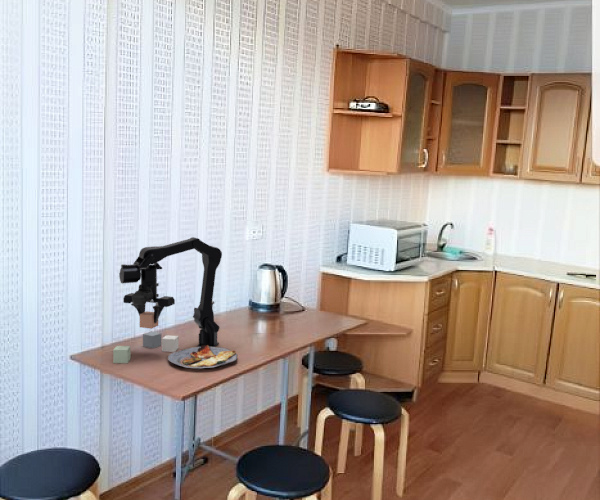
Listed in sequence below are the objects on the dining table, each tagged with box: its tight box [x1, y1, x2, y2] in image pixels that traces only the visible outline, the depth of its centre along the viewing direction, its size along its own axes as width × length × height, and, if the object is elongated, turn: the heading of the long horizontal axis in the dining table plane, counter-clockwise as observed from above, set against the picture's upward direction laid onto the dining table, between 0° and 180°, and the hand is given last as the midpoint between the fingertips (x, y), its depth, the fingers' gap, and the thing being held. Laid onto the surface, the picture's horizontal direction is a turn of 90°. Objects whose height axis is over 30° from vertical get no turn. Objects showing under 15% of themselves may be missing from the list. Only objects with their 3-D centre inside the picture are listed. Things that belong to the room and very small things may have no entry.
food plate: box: [167, 345, 238, 370], centre depth 227 cm, size 25×23×4 cm
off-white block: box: [161, 334, 179, 353], centre depth 239 cm, size 5×5×5 cm
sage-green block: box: [112, 345, 131, 364], centre depth 224 cm, size 5×5×5 cm
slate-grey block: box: [142, 330, 162, 349], centre depth 244 cm, size 5×5×5 cm
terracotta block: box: [139, 310, 159, 329], centre depth 233 cm, size 5×5×5 cm
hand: (149, 322), depth 233 cm, fingers closed on terracotta block, 5 cm apart
